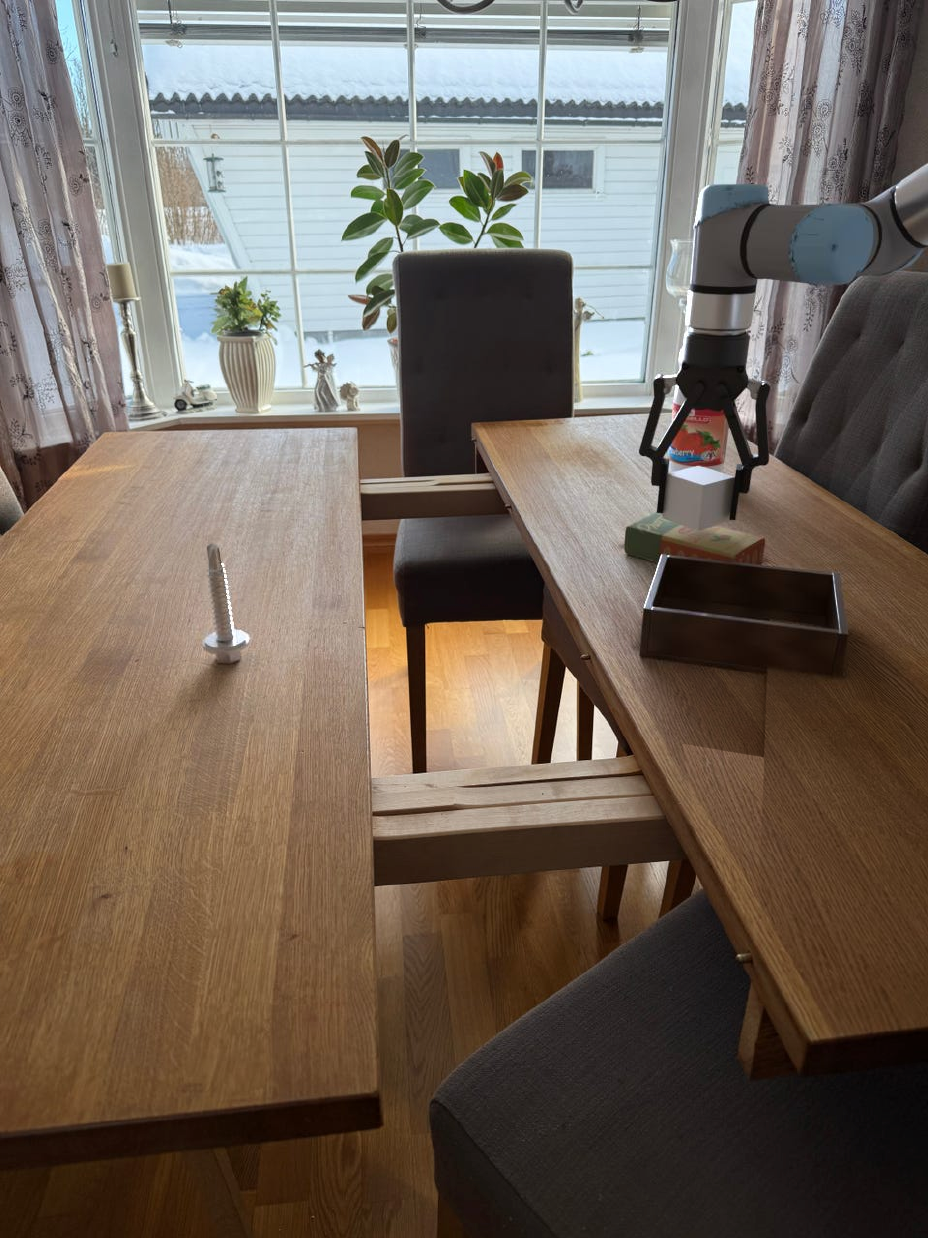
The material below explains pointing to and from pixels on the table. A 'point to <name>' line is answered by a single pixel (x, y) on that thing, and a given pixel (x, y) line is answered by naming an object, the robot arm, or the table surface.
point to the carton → (691, 542)
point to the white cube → (698, 497)
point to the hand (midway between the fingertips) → (696, 513)
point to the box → (744, 616)
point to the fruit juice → (698, 437)
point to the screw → (222, 615)
